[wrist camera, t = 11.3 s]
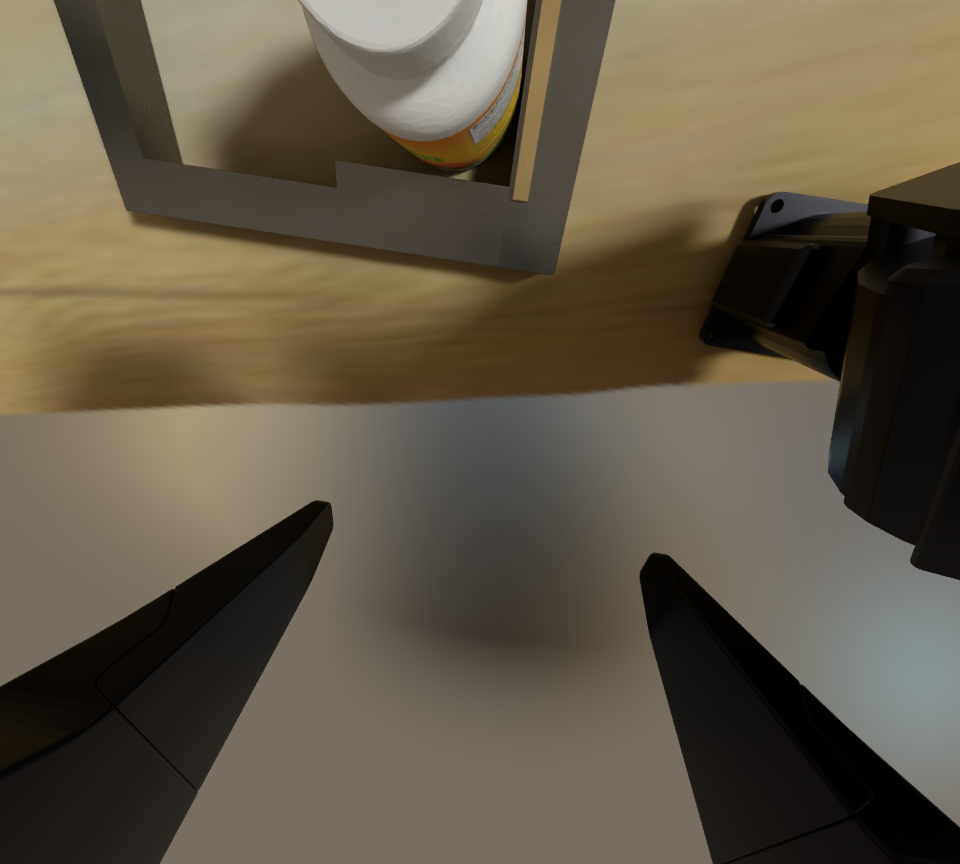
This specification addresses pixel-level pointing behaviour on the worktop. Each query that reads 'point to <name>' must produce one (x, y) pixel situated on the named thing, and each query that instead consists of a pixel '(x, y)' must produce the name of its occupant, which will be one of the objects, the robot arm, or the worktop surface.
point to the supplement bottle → (427, 70)
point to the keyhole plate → (360, 188)
